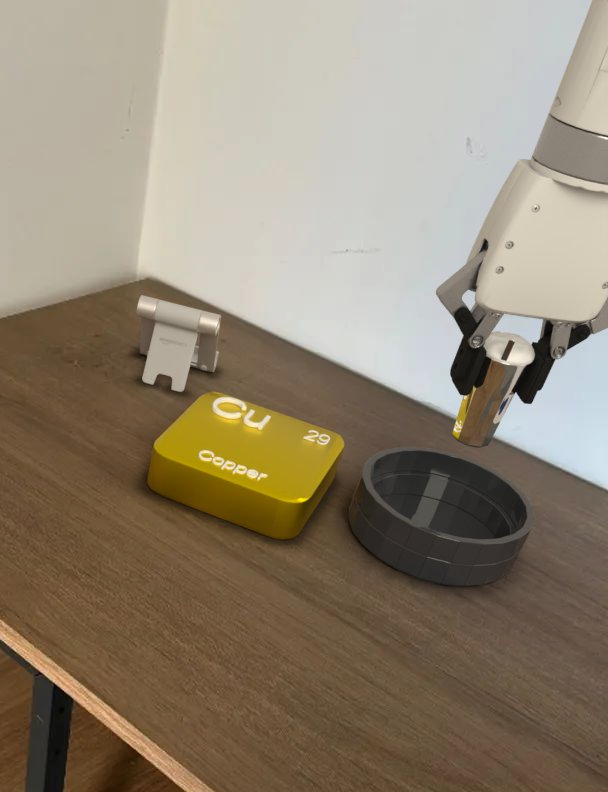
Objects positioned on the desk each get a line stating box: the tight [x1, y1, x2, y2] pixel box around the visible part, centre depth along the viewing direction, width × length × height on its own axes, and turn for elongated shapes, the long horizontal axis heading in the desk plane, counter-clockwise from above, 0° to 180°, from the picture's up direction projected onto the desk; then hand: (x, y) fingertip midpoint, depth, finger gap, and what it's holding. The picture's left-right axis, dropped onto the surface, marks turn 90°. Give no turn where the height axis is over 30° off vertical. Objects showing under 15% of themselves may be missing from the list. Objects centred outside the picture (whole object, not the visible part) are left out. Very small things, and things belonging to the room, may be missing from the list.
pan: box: [347, 446, 536, 587], centre depth 87 cm, size 15×15×5 cm
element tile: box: [146, 391, 345, 541], centre depth 90 cm, size 15×15×5 cm
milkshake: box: [451, 330, 535, 449], centre depth 79 cm, size 5×5×10 cm
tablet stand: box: [136, 294, 222, 393], centre depth 104 cm, size 9×8×8 cm
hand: (491, 389), depth 79 cm, fingers closed on milkshake, 4 cm apart
